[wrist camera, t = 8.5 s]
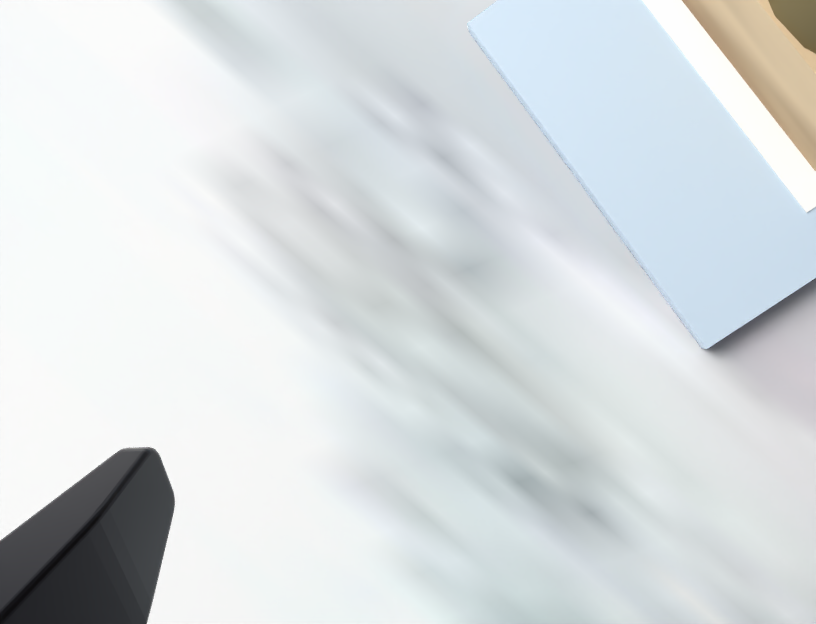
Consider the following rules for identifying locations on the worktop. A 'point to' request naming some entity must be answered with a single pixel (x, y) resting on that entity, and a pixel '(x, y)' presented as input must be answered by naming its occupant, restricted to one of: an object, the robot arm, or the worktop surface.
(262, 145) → the worktop surface
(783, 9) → the cork
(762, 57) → the oak block
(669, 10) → the pale blue tile
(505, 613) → the worktop surface
